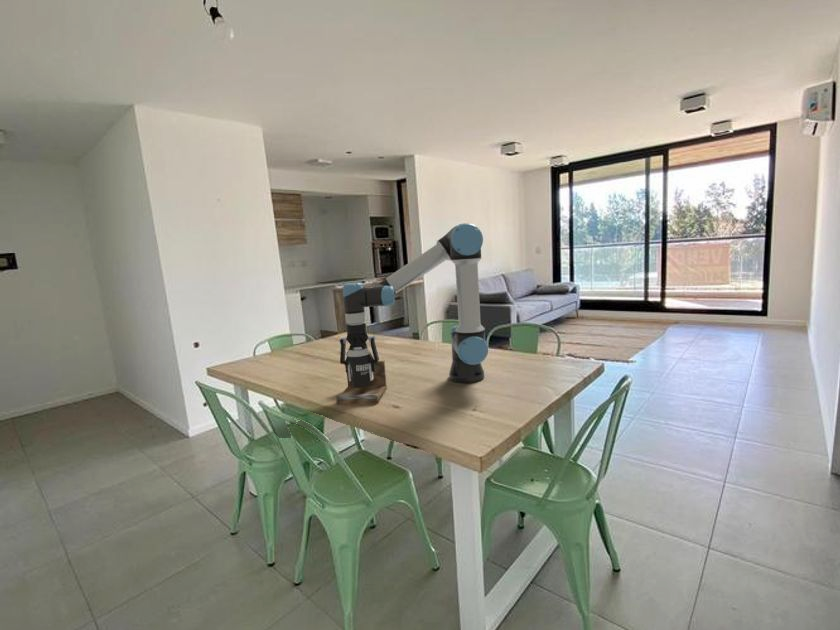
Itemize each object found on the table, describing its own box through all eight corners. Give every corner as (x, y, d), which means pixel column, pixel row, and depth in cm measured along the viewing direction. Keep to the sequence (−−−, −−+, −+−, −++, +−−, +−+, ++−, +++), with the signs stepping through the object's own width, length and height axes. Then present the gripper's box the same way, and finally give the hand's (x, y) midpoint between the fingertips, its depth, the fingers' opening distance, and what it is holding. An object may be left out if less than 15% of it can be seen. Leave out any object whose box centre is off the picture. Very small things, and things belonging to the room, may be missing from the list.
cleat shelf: (386, 388, 176) (384, 360, 174) (378, 403, 160) (375, 372, 158) (349, 389, 178) (346, 362, 176) (337, 404, 162) (334, 374, 160)
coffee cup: (351, 390, 162) (347, 352, 159) (348, 383, 171) (344, 347, 168) (375, 386, 164) (372, 349, 162) (371, 380, 173) (368, 344, 171)
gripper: (383, 320, 166) (388, 376, 169) (333, 322, 168) (339, 378, 172) (380, 323, 159) (385, 382, 162) (327, 326, 161) (333, 383, 165)
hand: (361, 379), depth 167 cm, fingers closed on coffee cup, 8 cm apart
